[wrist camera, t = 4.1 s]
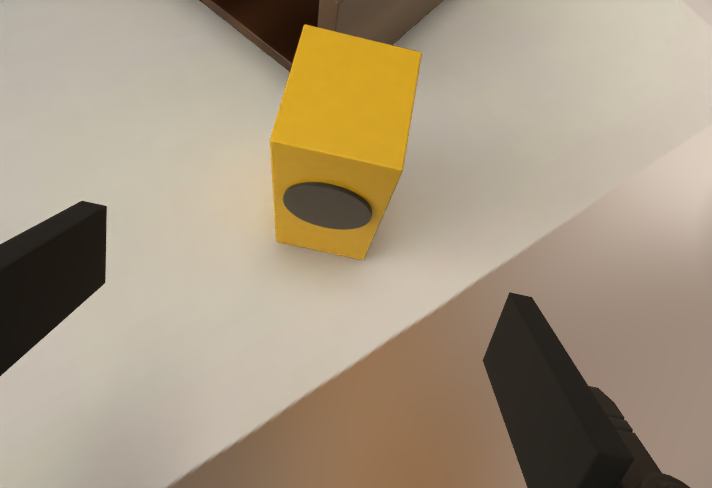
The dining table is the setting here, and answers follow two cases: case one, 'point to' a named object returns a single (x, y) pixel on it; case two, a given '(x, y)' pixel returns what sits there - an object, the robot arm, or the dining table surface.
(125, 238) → the dining table surface
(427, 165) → the dining table surface
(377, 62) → the yellow rectangular block
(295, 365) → the dining table surface
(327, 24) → the shelf
